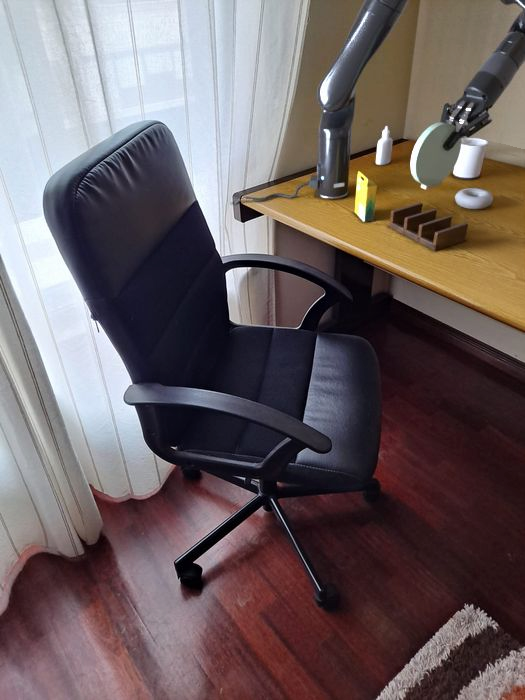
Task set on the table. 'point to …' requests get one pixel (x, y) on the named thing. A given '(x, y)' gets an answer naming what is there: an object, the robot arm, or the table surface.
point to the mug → (470, 158)
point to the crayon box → (365, 198)
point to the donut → (474, 198)
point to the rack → (427, 226)
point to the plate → (434, 155)
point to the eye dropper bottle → (384, 148)
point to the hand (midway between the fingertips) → (441, 147)
